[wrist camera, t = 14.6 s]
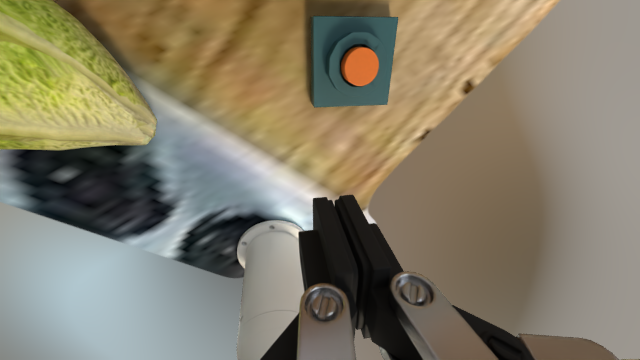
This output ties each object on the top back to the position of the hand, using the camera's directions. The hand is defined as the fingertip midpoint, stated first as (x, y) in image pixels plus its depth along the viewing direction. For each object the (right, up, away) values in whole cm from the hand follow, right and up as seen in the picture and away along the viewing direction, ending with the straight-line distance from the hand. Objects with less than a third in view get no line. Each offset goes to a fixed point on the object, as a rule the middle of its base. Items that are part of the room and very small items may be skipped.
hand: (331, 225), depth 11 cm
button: (+4, +15, +20) cm, 25 cm away
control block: (+3, +17, +23) cm, 29 cm away
